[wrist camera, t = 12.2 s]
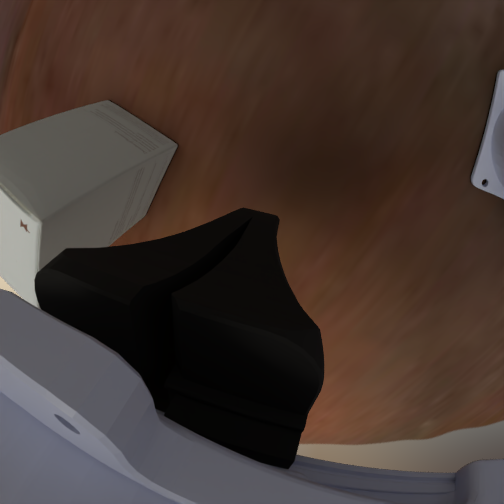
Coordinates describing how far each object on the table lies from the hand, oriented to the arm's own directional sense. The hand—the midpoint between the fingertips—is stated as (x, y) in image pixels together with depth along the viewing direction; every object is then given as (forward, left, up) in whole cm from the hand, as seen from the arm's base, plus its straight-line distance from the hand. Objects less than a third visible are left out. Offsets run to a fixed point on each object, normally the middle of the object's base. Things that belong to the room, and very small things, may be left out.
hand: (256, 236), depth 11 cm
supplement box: (+13, +2, -10) cm, 17 cm away
